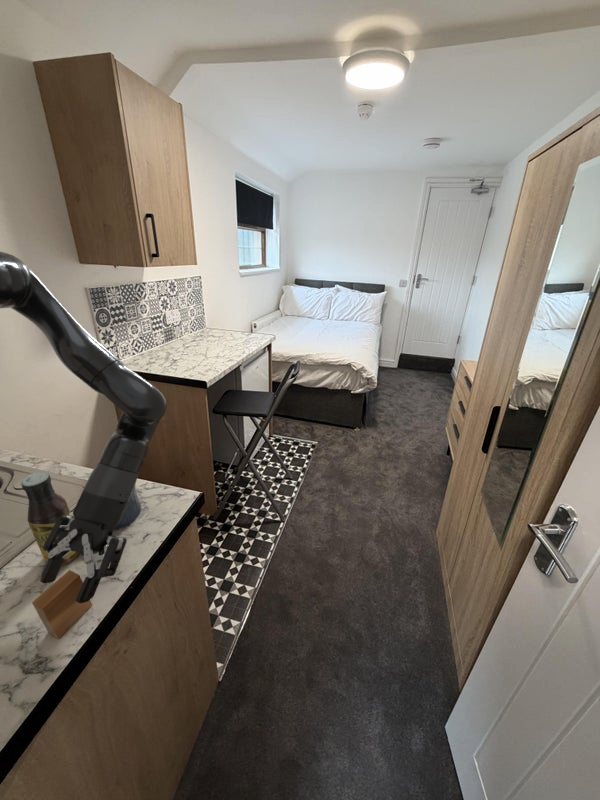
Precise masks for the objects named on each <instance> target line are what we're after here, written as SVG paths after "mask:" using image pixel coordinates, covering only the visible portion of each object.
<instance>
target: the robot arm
mask: <svg viewBox="0 0 600 800" xmlns="http://www.w3.org/2000/svg"><path fill="white" fill-rule="evenodd" d="M0 309H11V310H13V311H15V312H17V313H18V314H19V315H21V316H23V317H24V318H26V320H29V322H31V323H32V324H34V325H35V326H36V327H37V328H38V329H39V330H40V331H41V332H42V334H43V335H44V336H45V338H46V339H47V341H48V342H49V344H50V346H51V348H52V350H53V351H54V353H55V355H56V356H57V358H58V359H59V361H60V362H61V363H62V364H63V366H64V367H66V368H67V369H68V371H70V372H71V374H73V375H74V376H76V377H77V378H78V379H79V380H80V381H82V382H83V383H84V384H85V385H87V386H88V387H89V388H90V389H91V390H93V391H94V392H96V393H97V394H99V395H101V396H104V397H105V398H107V399H108V401H110V402H111V403H112V404H113V405H114V406H115V407H116V408H118V409H119V410H120V411H121V415H120V417H119V420H118V423H117V425H116V427H115V429H114V432H113V433H112V435H110V438H109V439H108V440H107V442H106V444H105V446H104V448H103V449H102V450H103V451H102V453H101V455H100V457H99V459H98V461H97V463H96V465H95V467H94V468H93V470H92V471H91V473H90V475H89V477H88V479H87V481H86V483H85V485H84V488H83V490H82V491H81V494H80V495H79V498H78V501H77V503H76V504H75V507H74V509H73V511H72V515H71V516H63V515H61V516H59V517H58V519H57V521H56V523H55V525H54V527H53V529H52V531H51V533H50V535H49V536H48V538H47V540H46V542H45V544H44V546H43V550H44V551H48V553H49V554H48V557H49V559H48V562H46V564H45V565H44V568H43V570H42V572H41V575H40V579H39V581H40V583H42V584H50V583H51V584H52V583H54V582H56V579H57V577H58V575H59V573H60V571H61V568H62V566H63V565H62V564H63V562H64V558H63V557H65V556H66V555H67V554H69V553H70V552H71V551H76V552H78V553H79V554H78V555H80V556H82V557H83V559H84V560H83V561H84V564H86V569H87V576H85V578H84V580H83V581H82V582H83V584H82V587H81V589H80V591H79V594H78V596H77V598H76V602H78V603H84V602H88V601H89V600H92V599H93V598H94V596H95V594H96V592H97V590H98V587H99V585H100V582H101V580H102V578H108V577H113V576H115V574H116V572H117V570H118V566H119V564H120V561H121V559H122V555H123V553H124V550H125V547H126V545H127V541H128V540H127V537H123V536H121V537H118V536H116V535H114V531H115V530H114V528H115V526H116V525H117V524H118V523H120V521H121V518H122V516H123V514H124V511H125V509H126V506H127V504H128V502H129V499H130V497H131V494H132V492H133V490H134V487H135V486H136V484H137V480H138V477H139V473H141V472H140V471H141V469H142V467H143V464H144V462H145V459H146V457H147V454H148V451H149V445H150V442H151V440H152V438H153V436H154V434H155V432H156V430H157V427H158V426H159V424H160V422H161V420H162V418H163V417H164V416H165V414H166V412H167V408H168V407H167V406H168V405H167V399H166V398H165V395H164V394H162V392H161V391H160V390H159V389H158V388H156V386H154V385H153V384H152V383H150V382H149V381H148V380H147V379H145V378H143V377H142V376H140V375H139V374H138V373H136V372H135V371H134V370H131V369H130V368H129V367H127V366H126V364H125V363H124V362H123V361H122V360H120V358H118V357H117V356H116V355H115V354H114V353H112V352H111V351H110V350H109V349H108V348H106V347H105V346H104V345H103V344H101V342H99V341H98V340H97V339H96V338H95V337H94V336H93V335H91V333H90V332H88V331H87V330H86V329H85V328H84V327H83V326H82V325H81V324H80V322H78V321H77V320H76V319H75V317H73V315H72V314H71V313H69V311H68V310H67V309H66V308H65V307H64V305H62V303H61V302H60V301H59V300H58V299H57V298H56V296H54V295H53V293H52V292H51V291H50V290H49V288H47V286H46V285H45V284H44V283H43V281H41V279H40V278H39V277H38V276H37V275H36V274H35V272H33V271H32V269H31V268H30V267H29V266H28V265H26V263H25V262H24V261H22V260H21V259H19V258H18V257H17V256H14V255H13V254H9V253H7V252H4V251H0ZM113 530H114V531H113ZM68 533H69V534H68ZM57 537H58V539H57V541H56V543H54V541H55V539H56V538H57ZM96 554H98V555H96Z"/></svg>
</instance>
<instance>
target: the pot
mask: <svg viewBox="0 0 600 800" xmlns="http://www.w3.org/2000/svg"><path fill="white" fill-rule="evenodd" d="M137 490H138V489H137V487H136V485H135V487H134V490H133V492H132V494H131V497H130V499H129V502H128V504H127V506H126V509H125V511H124V514H123V516H122V518H121V521H120V523H118V524H117V525H116V526H115V528H114V530H113V532H115V531H117V530H121V529H123V528H126V527H127V526H129V525H131V524H132V523H133V522H134V521H136V519H138V517H139V516H140V514H141V511H142V505H141V501H140V497H139V494H138V491H137Z"/></svg>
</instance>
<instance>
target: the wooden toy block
mask: <svg viewBox="0 0 600 800" xmlns="http://www.w3.org/2000/svg"><path fill="white" fill-rule="evenodd" d="M83 582H84V581H83V580H82V578H81V575H80V574H79V573H76V572H75V571H72V570H71V569H68V571H66V572H65V573H64V574H62V575H61V577H59V578H58V579H57V580H55V581H54V582H53V583H52V584H51V585H50V586H49V587H48V588H46V589H45V590H44V591H43V592H42V593H41V594H40V595H38V596H37V597H36V598H35V599H34V600H33V601H32V602H31V604H32V606H33V607H34V609H35V612H36V613H37V615H38V617H39V618H40V620H41V622H42V623H43V626H44V627H45V629H46V631H47V633H48V634H49V635H51V636H52V637H54V638H56V639H57V640H60V638H62V637H63V636H64V635H65V633H67V632H68V631H69V630H70V629H71V627H73V626H74V624H75V623H76V622H77V621H78V620H79V619H80V618H81V617H82V616H83V615H84V614H85V613H86V612H87V611H88V610H89V609H90V608H91V607H92V606H93V603H92V599H90V600H89V601H88V602H84V603H78V602H76V598H77V596H78V594H79V591H80V589H81V587H82V584H83Z"/></svg>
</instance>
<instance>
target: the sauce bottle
mask: <svg viewBox="0 0 600 800" xmlns="http://www.w3.org/2000/svg"><path fill="white" fill-rule="evenodd" d="M20 485H21V488H22V490H23V491H24V492H25V494H26V496H27V499H28V507H27V509H28V510H27V523H28V525H29V528H30V530H31V532H32V535H33V537H34V539H35V541H36V544H37V546H38V548H39V551H40V553H41V556H42V558H43V559H44V561H45V562H46V563H47V562H48V559H49V557H48V554H49V553H48V551H44V550H43V546H44V544H45V542H46V540H47V538H48V536H49V535H50V533H51V531H52V529H53V527H54V525H55V523H56V521H57V519H58V517H59V516H61V515H63V516H72V514H71V510H70V508H69V507H68V503H67V501H66V499H65V498H64V497H63V496H62V495H60V494H58V493H57V492H55V489H54V487H53V485H52V478H51V476H50V474H49V472H46V471H37V472H33V473H30V474H29V475H26V476H25V477H24V478H23V479H22V480H21V484H20ZM68 534H69V533H68ZM57 539H58V537H57V538H56V539H55V541H54V543H56V541H57ZM78 555H80V554H79V553H78V552H76V551H71V552H70V553H69V554H67V555H66V556H65V557H63V558H64V562H63V564H62V566H65V565H67V564H69V563H70V562H72V561H73V560H74V559H76V557H78Z"/></svg>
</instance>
